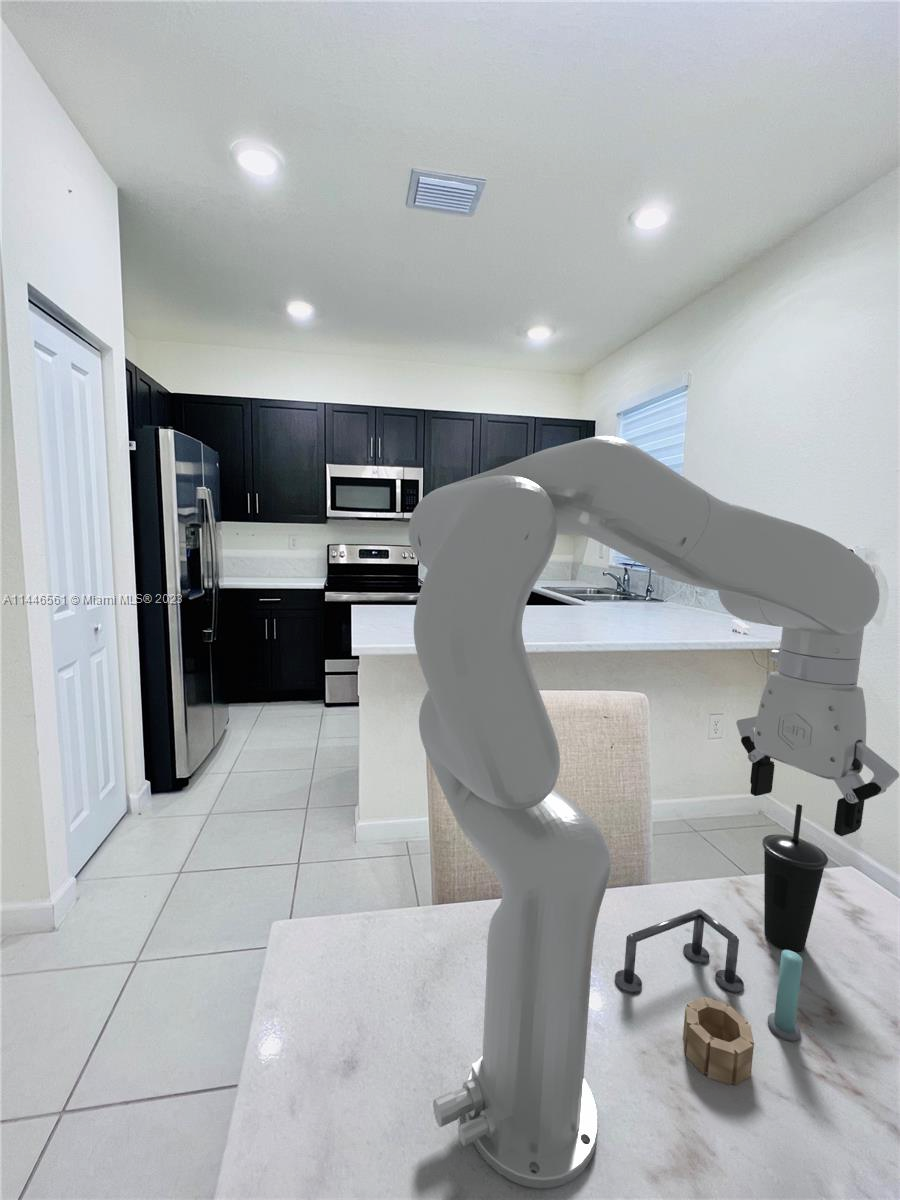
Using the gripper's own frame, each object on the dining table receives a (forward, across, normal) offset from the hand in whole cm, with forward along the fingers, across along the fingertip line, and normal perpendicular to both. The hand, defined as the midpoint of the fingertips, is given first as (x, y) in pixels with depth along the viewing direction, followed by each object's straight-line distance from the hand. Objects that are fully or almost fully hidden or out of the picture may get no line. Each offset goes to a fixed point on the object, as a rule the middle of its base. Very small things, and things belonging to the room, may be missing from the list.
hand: (800, 811), depth 63 cm
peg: (+24, +3, -3) cm, 25 cm away
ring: (+24, +2, -13) cm, 28 cm away
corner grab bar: (+24, -7, -9) cm, 27 cm away
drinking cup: (+24, -6, +11) cm, 27 cm away
